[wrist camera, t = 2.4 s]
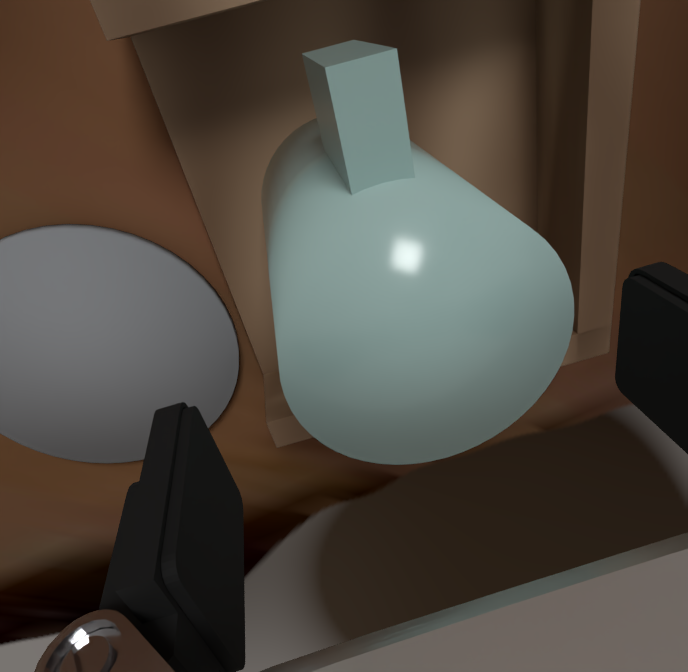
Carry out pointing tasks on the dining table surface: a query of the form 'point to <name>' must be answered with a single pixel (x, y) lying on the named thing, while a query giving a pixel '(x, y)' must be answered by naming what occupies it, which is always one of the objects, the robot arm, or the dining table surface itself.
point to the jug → (400, 279)
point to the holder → (422, 118)
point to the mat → (105, 341)
